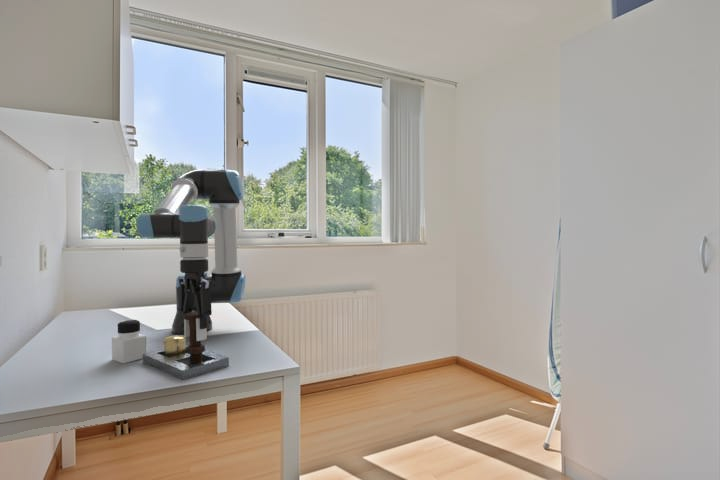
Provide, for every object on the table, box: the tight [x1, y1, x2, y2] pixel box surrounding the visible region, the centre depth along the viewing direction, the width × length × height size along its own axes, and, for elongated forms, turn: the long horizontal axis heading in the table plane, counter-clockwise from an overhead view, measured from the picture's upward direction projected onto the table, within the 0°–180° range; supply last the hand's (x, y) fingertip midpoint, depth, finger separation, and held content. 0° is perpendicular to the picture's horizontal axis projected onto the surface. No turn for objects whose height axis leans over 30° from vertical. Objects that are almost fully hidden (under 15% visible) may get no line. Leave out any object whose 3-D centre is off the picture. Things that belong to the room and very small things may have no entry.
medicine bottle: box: [111, 319, 147, 364], centre depth 125 cm, size 7×7×12 cm
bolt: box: [184, 312, 206, 366], centre depth 116 cm, size 6×5×15 cm
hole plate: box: [142, 334, 230, 381], centre depth 119 cm, size 24×14×7 cm, turn 52°
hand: (195, 337), depth 116 cm, fingers open, 6 cm apart
